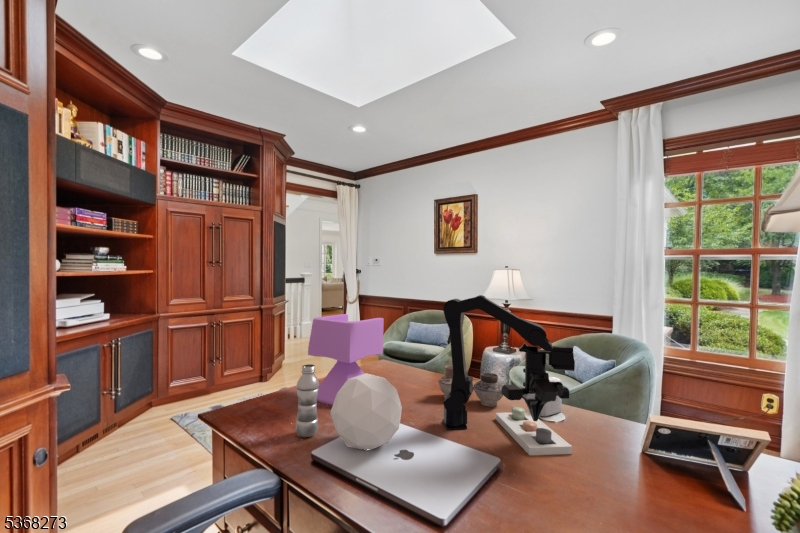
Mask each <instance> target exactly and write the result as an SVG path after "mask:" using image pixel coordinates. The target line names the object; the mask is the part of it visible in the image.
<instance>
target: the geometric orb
mask: <svg viewBox="0 0 800 533" xmlns="http://www.w3.org/2000/svg"><path fill="white" fill-rule="evenodd" d="M399 396H400V395H399V392H398V389H397V388H396V387H395V386H394V385H393V384H392V383H391V382H390V381H389V380H387V379H386V378H385V377H383V376H378V375H376V374H375V375H374V374H372V373H371V374H370V373H367V372H366V373H365V372H364V374H362V375H359V376H356V377H353V378H350V379H348V380H347V381H346V382H345V384H344V385H343V386H342V388H341V389H340V390H339V391H338V393H337V394H336V397H335V400H334V403H333V405H331V410H330V412H329V414H330V417H331V420H332V422H333V425H334V429H335V431H336V434H337V435H338V436H339V438H341V440H342V441H343V442H344V443H345V445H346V446H347V447H349V448H354V449H357V448H358V449H357V450H362V449H365V450H364V451H366V450H367V449H371V450H374V449H376V448H378V446H379V447H380V446H384V445H386V444H388V443H389V441H390V440H391V439H392V437H394V436H395V434H396V433H397V432H398V431H399V429H400V426H401V425H400V424H401V418H402V411H403V407H402V402H401V399H400V397H399ZM373 448H374V449H373Z"/></svg>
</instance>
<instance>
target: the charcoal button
mask: <svg viewBox="0 0 800 533" xmlns="http://www.w3.org/2000/svg"><path fill="white" fill-rule="evenodd" d="M536 442H537V443H538V444H539V445H547V444H551V431H550V430H548V429H544V428H537V429H536Z"/></svg>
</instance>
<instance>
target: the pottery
mask: <svg viewBox="0 0 800 533" xmlns="http://www.w3.org/2000/svg"><path fill="white" fill-rule="evenodd" d="M444 368H445V375H443V376H442V377H440V378H439V379H438V381H437V382H438V386H439V388H440V390H441V392H442V393H443V394H444V395H443V398H444V400H445V399H446V397H447V396H448V394H449V393H450V392H451V383H452V377H453V366H452V364H447V365H445V366H444ZM480 379H481V380H479V381H477V382H475V383H474V384H473V387H474V390H473V392H474V393H475V395H476V397H477V398H478V399H479V400H480V404H481V405H482V406H485V407H496V406H497V405H498V402H499V401H500V400H501V399H502V398H503V396H504V395H502V394H501V391H502V387H503V384H501V383H500V382H498V380H499V375H498V374H497V373H494V372H482V373H480Z"/></svg>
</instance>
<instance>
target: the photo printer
mask: <svg viewBox="0 0 800 533" xmlns="http://www.w3.org/2000/svg"><path fill="white" fill-rule="evenodd" d="M549 381H550V382H561V383H562V380H561V379H560V378H559V377H554V376H549ZM562 384H563V383H562ZM562 400H563V399H561V398H559V397H558V396H557V397H556V401H550V402H547V403H546V404H545V405H544V407H543V408H542V411H541V413H540V416H542V417H549V416H552V415H556V414H559V413H561V412H562V405H563V404H562V402H563V401H562Z"/></svg>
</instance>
